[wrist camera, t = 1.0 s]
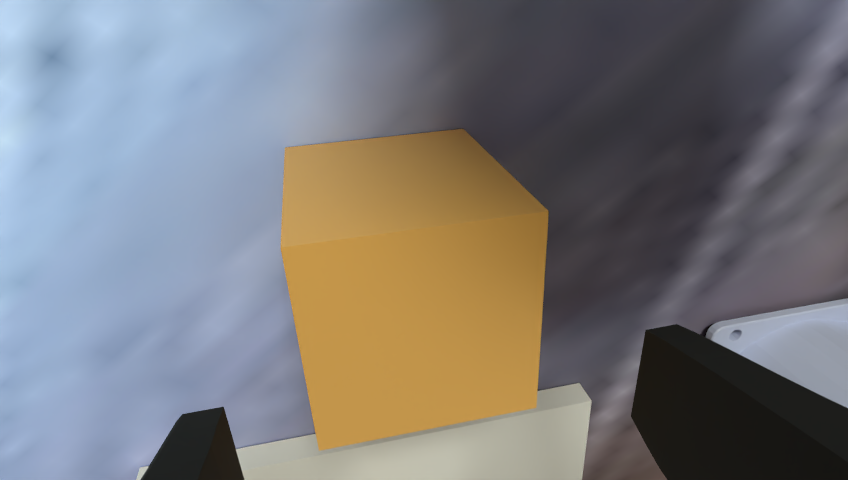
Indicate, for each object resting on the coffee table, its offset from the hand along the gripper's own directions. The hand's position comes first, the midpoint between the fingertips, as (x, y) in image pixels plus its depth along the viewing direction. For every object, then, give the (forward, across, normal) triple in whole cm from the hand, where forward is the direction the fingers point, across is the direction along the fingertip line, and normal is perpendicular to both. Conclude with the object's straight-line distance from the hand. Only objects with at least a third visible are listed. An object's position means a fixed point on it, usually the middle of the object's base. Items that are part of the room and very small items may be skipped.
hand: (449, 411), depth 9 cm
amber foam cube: (+8, 0, 0) cm, 8 cm away
